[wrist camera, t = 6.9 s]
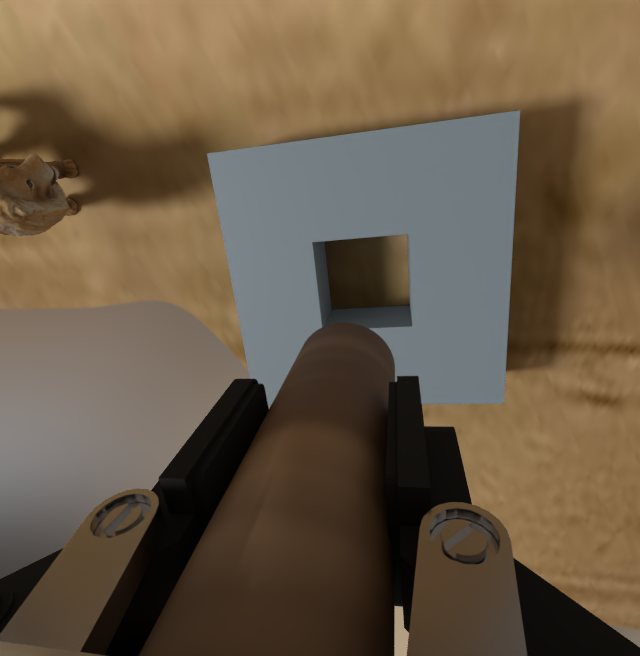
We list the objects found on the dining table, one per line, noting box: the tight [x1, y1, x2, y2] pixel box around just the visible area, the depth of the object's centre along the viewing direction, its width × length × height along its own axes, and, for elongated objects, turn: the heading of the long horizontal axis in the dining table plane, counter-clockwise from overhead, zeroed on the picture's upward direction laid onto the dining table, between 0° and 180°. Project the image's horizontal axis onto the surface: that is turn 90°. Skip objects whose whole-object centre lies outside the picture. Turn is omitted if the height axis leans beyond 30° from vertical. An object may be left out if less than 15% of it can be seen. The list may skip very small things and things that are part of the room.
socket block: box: [207, 110, 520, 405], centre depth 25 cm, size 16×16×4 cm
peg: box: [139, 323, 395, 656], centre depth 9 cm, size 3×3×12 cm
